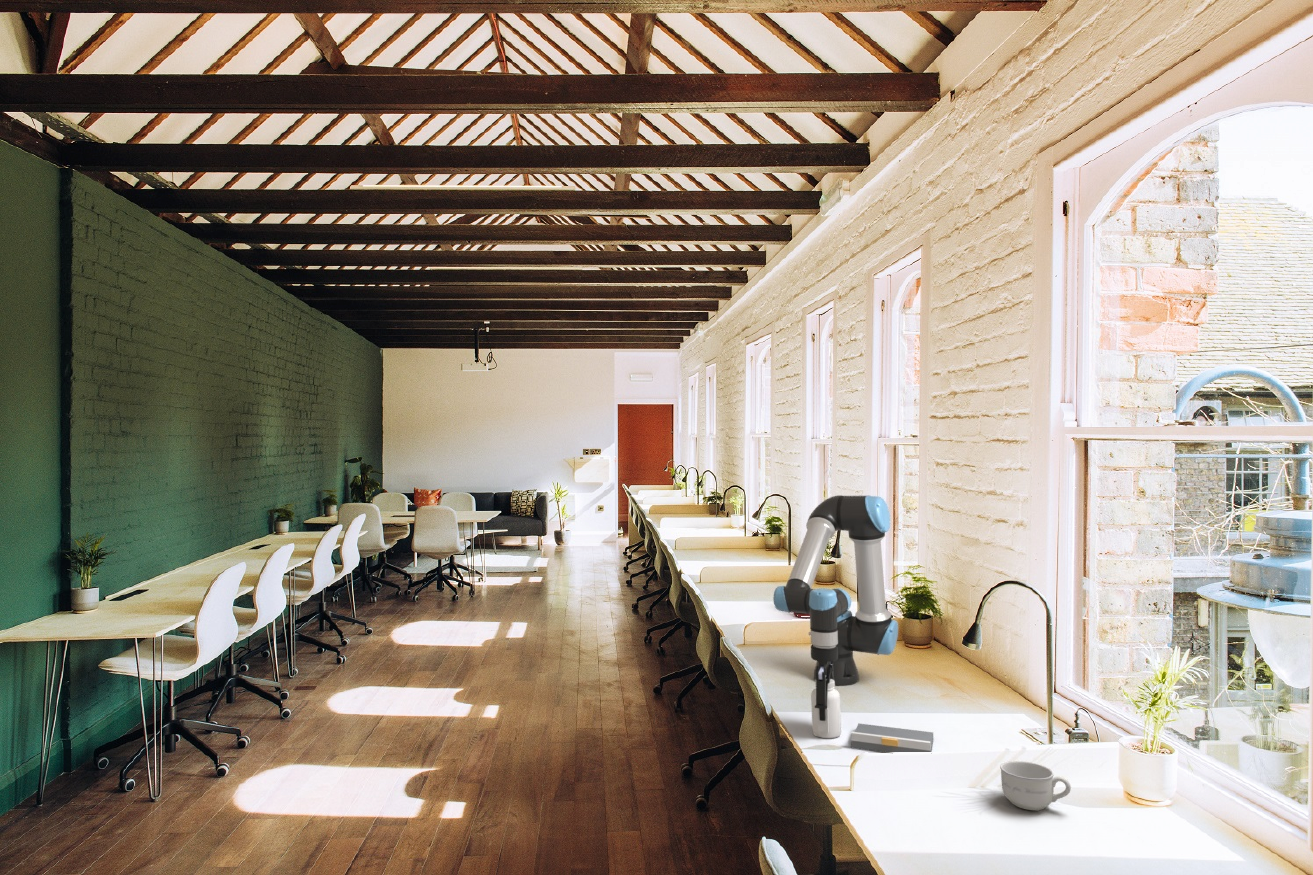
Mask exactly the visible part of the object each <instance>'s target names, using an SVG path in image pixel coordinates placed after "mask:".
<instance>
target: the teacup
mask: <svg viewBox="0 0 1313 875" xmlns="http://www.w3.org/2000/svg"><path fill="white" fill-rule="evenodd" d="M999 766H1000V767H999V768H1000V776H1001V778H1000V779H1001V789H1002V792H1003V795H1004V796H1005V798H1006V799H1007V800H1009V801H1010V803H1011V804H1012V805H1014V806H1015V807H1017V808H1020V809H1024V810H1029V811H1042V810H1044V809H1045V808H1046V807H1048V806H1049V805H1051V803H1056V802H1057V800H1060V799H1063V798H1065V797H1067V796H1068V795H1069V794H1070V793H1071V791H1072V790H1071V788H1072V787H1071V783H1070V781H1069V780H1068V779H1067V778H1066V777H1064V776H1061V775H1058V776H1054V772H1053V770H1052V769H1050V768H1048V767H1047V766H1045V765H1042V764H1040V763H1036V762H1031V761H1023V760H1011V761H1004V762H1003V763H1001V764H1000V765H999ZM1058 782H1062V783H1063V785H1065V789H1064V790H1063V791H1062V792H1059V793H1054V788H1055V787H1056V785H1057V783H1058Z"/></svg>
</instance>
